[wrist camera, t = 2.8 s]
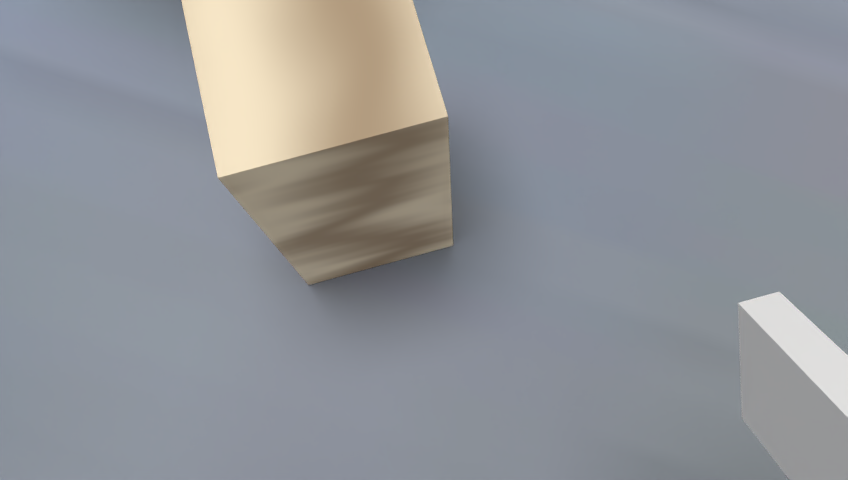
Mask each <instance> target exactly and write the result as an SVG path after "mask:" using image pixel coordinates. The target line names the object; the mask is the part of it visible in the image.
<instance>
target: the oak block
mask: <svg viewBox="0 0 848 480" xmlns="http://www.w3.org/2000/svg"><path fill="white" fill-rule="evenodd" d="M181 1H182V5H183V10H184V15H185V20H186V25H187V30H188V35H189V40H190V44H191V49H192V54H193V59H194V64H195V69H196V74H197V78H198V83H199V88H200V93H201V98H202V103H203V108H204V112H205V117H206V122H207V127H208V132H209V137H210V142H211V146H212V151H213V156H214V161H215V166H216V171H217V176H218V178H219V180H220V181H221V182H222V183H223V184H224V186H225V187H226V188H227V189H228V190H229V192H230V193H231V194H232V195H233V196H234V197H235V199H236V200H237V201H238V202H239V203H240V205H241V206H242V207H243V208H244V209H245V210H246V212H247V213H248V214H249V215H250V216H251V218H252V219H253V220H254V221H255V222H256V223H257V225H258V226H259V227H260V228H261V229H262V231H263V232H264V233H265V234H266V235H267V236H268V238H269V239H270V240H271V241H272V242H273V244H274V245H275V246H276V247H277V248H278V249H279V251H280V252H281V253H282V254H283V255H284V257H285V258H286V259H287V260H288V261H289V262H290V264H291V265H292V266H293V267H294V268H295V270H296V271H297V272H298V273H299V274H300V276H301V277H302V278H303V279H304V280H305V281H306V283H307V284H308V285H311V284H314V283H318V282H321V281H325V280H329V279H332V278H336V277H340V276H343V275H347V274H351V273H354V272H358V271H362V270H365V269H369V268H373V267H376V266H380V265H384V264H387V263H391V262H395V261H398V260H402V259H406V258H409V257H413V256H417V255H420V254H424V253H428V252H431V251H435V250H439V249H442V248H446V247H450V246H453V228H452V203H451V179H450V154H449V130H448V115H447V111H446V108H445V105H444V102H443V98H442V95H441V92H440V89H439V85H438V82H437V79H436V76H435V72H434V69H433V66H432V63H431V59H430V56H429V53H428V49H427V46H426V43H425V40H424V36H423V33H422V30H421V27H420V23H419V20H418V17H417V14H416V10H415V7H414V4H413V0H181Z"/></svg>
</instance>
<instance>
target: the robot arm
mask: <svg viewBox="0 0 848 480" xmlns="http://www.w3.org/2000/svg"><path fill="white" fill-rule="evenodd" d="M738 316H739V346H740V376H741V407H742V419H743V420H744V422H745V423H746V424H747V426H748V427H749V428H750V429H751V431H752V432H753V433H754V435H755V436H756V437H757V439H758V440H759V441H760V442H761V444H762V445H763V446H764V448H765V449H766V450H767V452H768V453H769V454H770V455H771V457H772V458H773V459H774V461H775V462H776V463H777V464H778V466H779V467H780V468H781V470H782V471H783V472H784V474H785V475H786V476H787V477H788V479H789V480H848V355H846V354H845V353H844V352H843V351H842V350H841V349H840V348H839V347H838V346H837V345H836V344H835V343H834V342H833V341H831V340H830V339H829V338H828V337H827V336H826V335H825V334H824V333H823V332H822V331H821V330H820V329H819V328H818V327H816V326H815V325H814V324H813V323H812V322H811V321H810V320H809V319H808V318H807V317H806V316H805V315H804V314H803V313H801V312H800V311H799V310H798V309H797V308H796V307H795V306H794V305H793V304H792V303H791V302H790V301H789V300H788V299H786V298H785V297H784V296H783V295H782V294H781V293H780V292H776V293H773V294H769V295H765V296H762V297H758V298H754V299H751V300H747V301H744V302H740V303H738Z"/></svg>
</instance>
